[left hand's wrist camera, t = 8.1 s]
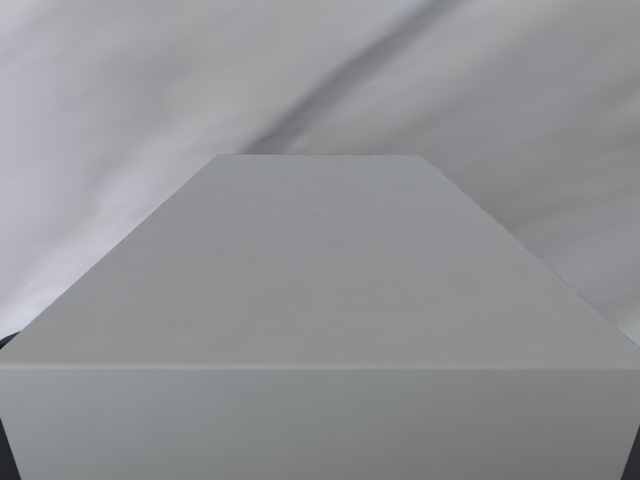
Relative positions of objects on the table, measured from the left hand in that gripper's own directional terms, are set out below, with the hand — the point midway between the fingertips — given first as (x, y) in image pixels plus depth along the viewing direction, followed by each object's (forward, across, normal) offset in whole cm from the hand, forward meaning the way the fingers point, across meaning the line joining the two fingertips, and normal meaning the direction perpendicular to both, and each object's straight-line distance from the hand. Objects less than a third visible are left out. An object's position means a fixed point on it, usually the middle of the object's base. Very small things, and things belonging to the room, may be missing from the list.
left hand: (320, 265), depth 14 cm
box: (+1, 0, -8) cm, 8 cm away
